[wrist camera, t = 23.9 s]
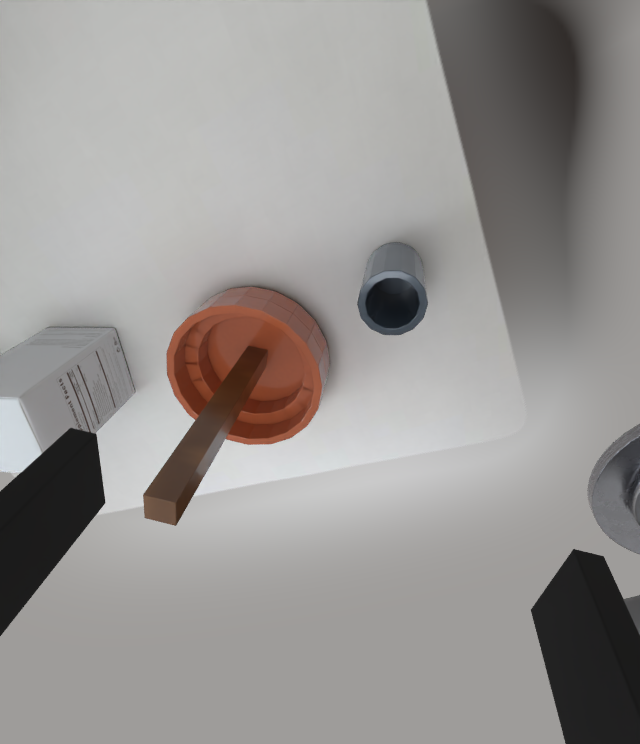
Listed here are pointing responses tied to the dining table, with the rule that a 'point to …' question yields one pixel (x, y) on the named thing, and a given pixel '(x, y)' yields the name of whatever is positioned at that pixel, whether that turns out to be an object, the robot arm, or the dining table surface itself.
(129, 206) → the dining table surface
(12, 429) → the rectangular carton
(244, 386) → the stirring stick
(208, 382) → the bowl
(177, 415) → the dining table surface
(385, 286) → the gray pipe section
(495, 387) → the dining table surface
